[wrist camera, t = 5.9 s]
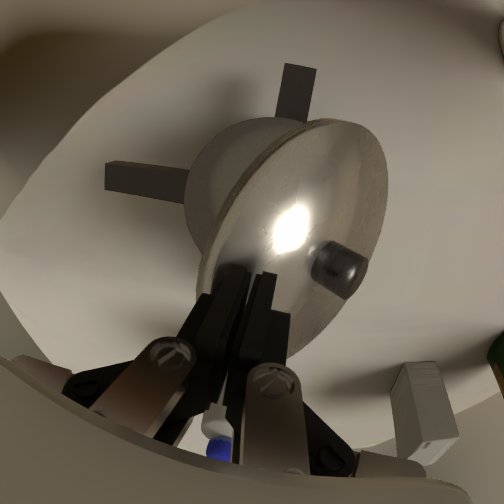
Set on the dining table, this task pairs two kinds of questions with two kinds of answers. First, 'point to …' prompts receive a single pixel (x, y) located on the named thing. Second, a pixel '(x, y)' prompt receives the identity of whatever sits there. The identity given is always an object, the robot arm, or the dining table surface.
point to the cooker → (217, 159)
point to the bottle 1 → (217, 430)
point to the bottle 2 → (498, 361)
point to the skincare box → (422, 414)
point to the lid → (303, 222)
